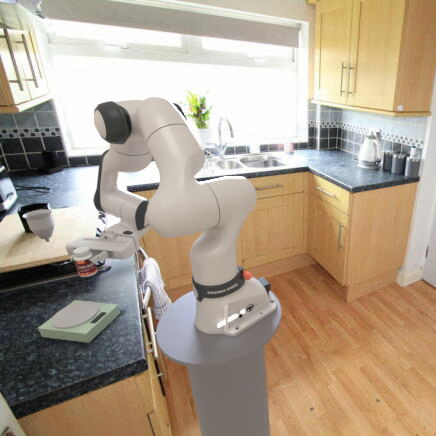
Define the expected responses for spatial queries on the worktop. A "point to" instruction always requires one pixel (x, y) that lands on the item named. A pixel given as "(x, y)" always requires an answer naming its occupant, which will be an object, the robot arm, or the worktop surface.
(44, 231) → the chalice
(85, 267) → the pill bottle
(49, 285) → the worktop surface
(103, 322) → the scale
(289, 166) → the worktop surface
